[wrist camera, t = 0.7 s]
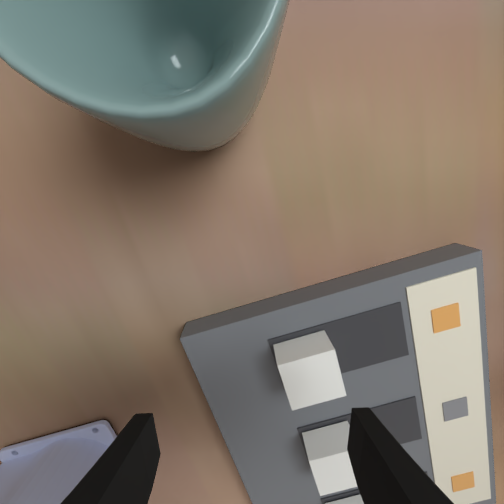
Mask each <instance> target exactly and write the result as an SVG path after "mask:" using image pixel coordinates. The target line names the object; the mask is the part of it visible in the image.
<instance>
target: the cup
mask: <svg viewBox="0 0 504 504" xmlns="http://www.w3.org/2000/svg"><path fill="white" fill-rule="evenodd" d="M289 1H290V0H0V58H2V59H3V60H4V61H5V62H6V63H7V64H8V65H9V66H10V67H11V68H12V69H14V70H15V71H16V72H17V73H19V74H20V75H22V76H23V77H24V78H26V79H27V80H29V81H30V82H32V83H33V84H35V85H36V86H38V87H39V88H41V89H42V90H44V91H45V92H46V93H48V94H49V95H51V96H53V97H54V98H56V99H58V100H59V101H61V102H63V103H65V104H67V105H69V106H71V107H73V108H75V109H77V110H79V111H81V112H83V113H85V114H87V115H89V116H91V117H93V118H96V119H98V120H100V121H102V122H104V123H106V124H108V125H110V126H113V127H115V128H117V129H119V130H121V131H124V132H126V133H128V134H131V135H133V136H135V137H138V138H140V139H142V140H145V141H148V142H151V143H154V144H157V145H161V146H164V147H168V148H171V149H175V150H183V151H193V152H195V151H205V150H211V149H214V148H217V147H220V146H223V145H224V144H226V143H227V142H229V141H230V140H232V139H233V138H235V137H236V136H237V135H238V134H239V132H240V131H241V130H242V129H243V128H244V127H245V126H246V125H247V123H248V122H249V120H250V119H251V117H252V115H253V114H254V112H255V111H256V109H257V107H258V104H259V102H260V100H261V97H262V95H263V93H264V90H265V88H266V85H267V83H268V80H269V77H270V74H271V70H272V67H273V63H274V59H275V55H276V51H277V48H278V44H279V40H280V36H281V32H282V28H283V24H284V20H285V17H286V13H287V9H288V5H289Z"/></svg>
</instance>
